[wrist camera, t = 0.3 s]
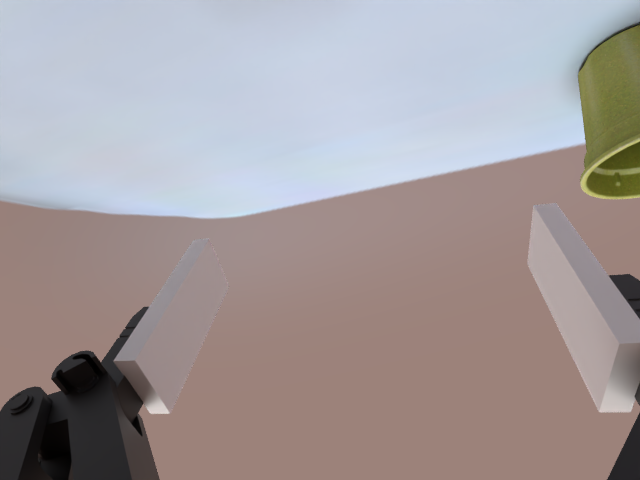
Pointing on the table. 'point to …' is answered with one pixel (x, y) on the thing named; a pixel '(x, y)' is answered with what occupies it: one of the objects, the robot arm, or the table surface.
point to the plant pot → (612, 117)
